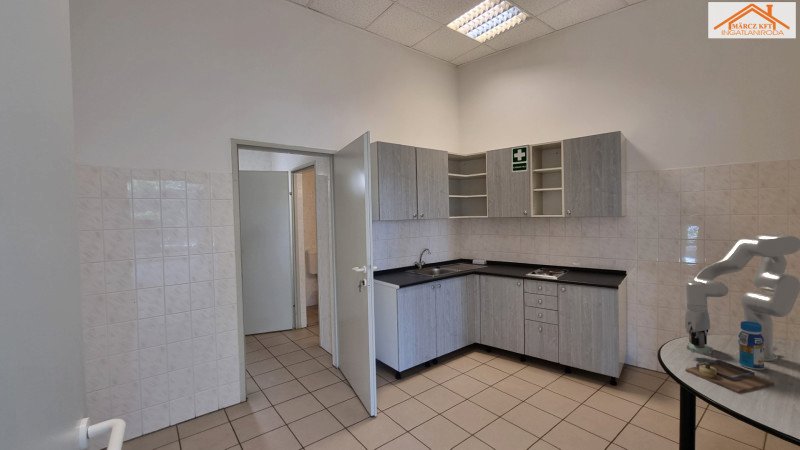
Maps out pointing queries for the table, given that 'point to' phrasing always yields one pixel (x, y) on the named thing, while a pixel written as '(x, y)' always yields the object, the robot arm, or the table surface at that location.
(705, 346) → the gear
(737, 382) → the carrier
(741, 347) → the beverage bottle
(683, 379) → the table surface
